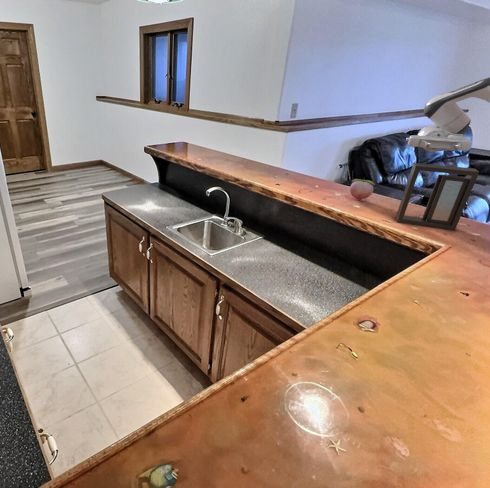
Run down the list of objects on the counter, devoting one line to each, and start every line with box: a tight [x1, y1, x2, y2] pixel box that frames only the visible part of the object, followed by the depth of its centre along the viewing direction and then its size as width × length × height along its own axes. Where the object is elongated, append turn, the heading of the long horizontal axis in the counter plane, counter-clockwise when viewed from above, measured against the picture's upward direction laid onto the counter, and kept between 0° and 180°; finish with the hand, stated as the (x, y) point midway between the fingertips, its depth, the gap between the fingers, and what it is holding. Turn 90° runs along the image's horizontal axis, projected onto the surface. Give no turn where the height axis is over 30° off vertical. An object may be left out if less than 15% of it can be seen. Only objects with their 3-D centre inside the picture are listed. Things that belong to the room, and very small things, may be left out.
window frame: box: [395, 162, 480, 231], centre depth 126 cm, size 18×5×22 cm, turn 65°
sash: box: [421, 174, 464, 220], centre depth 128 cm, size 7×5×17 cm
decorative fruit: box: [349, 177, 376, 201], centre depth 153 cm, size 9×8×10 cm
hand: (442, 146), depth 132 cm, fingers open, 8 cm apart
